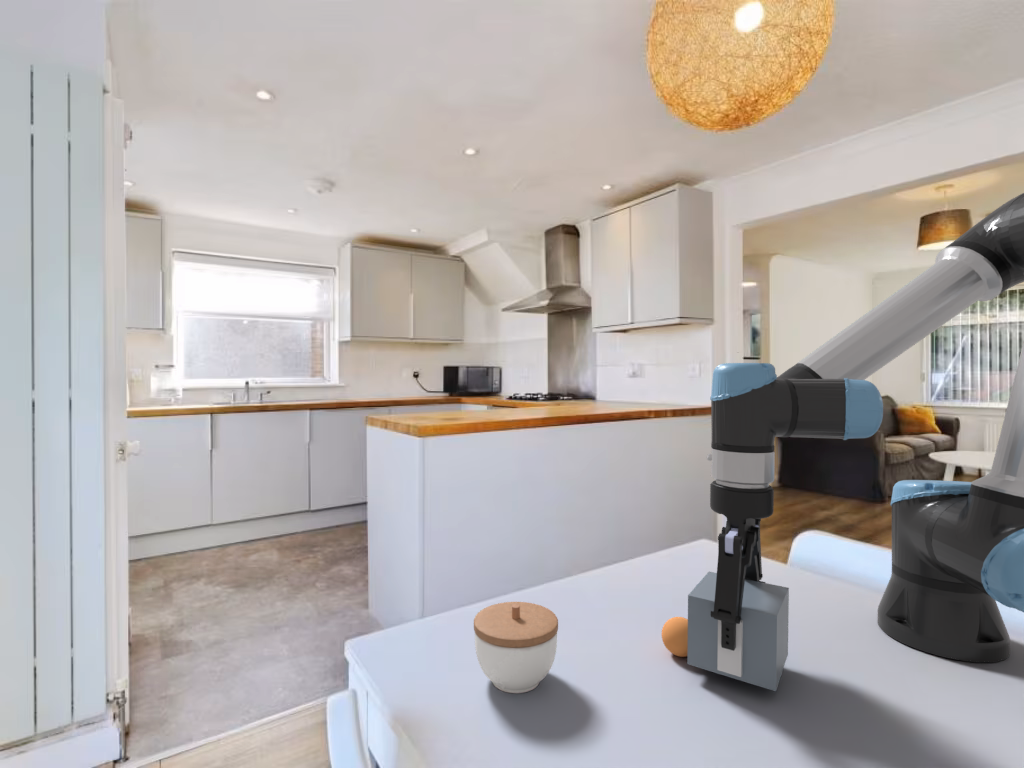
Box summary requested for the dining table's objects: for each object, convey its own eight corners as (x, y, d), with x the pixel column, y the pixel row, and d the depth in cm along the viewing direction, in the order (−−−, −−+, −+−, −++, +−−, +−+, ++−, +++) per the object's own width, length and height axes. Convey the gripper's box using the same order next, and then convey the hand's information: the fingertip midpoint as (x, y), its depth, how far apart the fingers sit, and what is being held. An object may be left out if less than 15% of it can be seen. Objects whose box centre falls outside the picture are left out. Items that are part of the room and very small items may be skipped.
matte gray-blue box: (788, 654, 70) (788, 587, 70) (776, 691, 62) (776, 616, 61) (708, 632, 76) (708, 571, 76) (687, 664, 67) (688, 595, 67)
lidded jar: (561, 705, 62) (561, 626, 62) (469, 705, 62) (469, 625, 62) (555, 657, 73) (555, 589, 72) (477, 656, 73) (477, 588, 73)
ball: (711, 640, 73) (690, 606, 75) (701, 656, 69) (679, 619, 71) (681, 652, 76) (661, 618, 77) (670, 668, 72) (649, 632, 73)
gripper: (730, 467, 80) (728, 613, 80) (686, 494, 61) (683, 685, 61) (786, 472, 76) (784, 627, 76) (756, 503, 57) (754, 708, 57)
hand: (739, 653), depth 69 cm, fingers closed on matte gray-blue box, 10 cm apart
